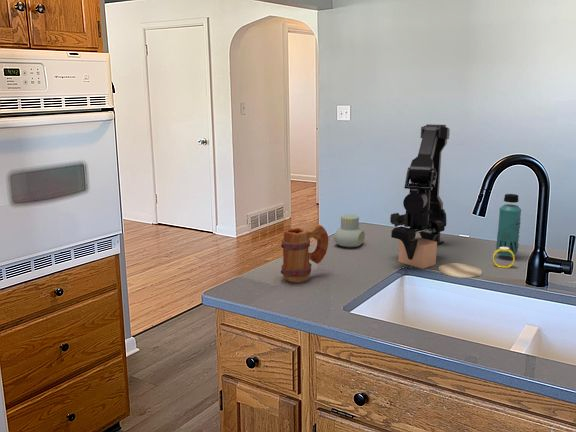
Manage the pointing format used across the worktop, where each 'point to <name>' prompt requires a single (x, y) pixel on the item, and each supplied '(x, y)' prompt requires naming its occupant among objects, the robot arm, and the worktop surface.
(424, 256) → the salmon pink block
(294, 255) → the mug
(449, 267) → the coaster
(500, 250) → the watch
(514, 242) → the beverage bottle
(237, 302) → the worktop surface
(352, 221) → the air freshener
